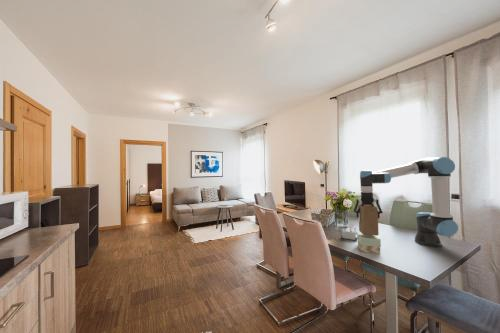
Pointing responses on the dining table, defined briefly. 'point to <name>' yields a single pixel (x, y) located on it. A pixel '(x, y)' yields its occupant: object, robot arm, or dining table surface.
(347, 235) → the white toy machine
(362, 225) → the wooden block
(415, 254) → the dining table surface
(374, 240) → the tower top
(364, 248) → the tower base
